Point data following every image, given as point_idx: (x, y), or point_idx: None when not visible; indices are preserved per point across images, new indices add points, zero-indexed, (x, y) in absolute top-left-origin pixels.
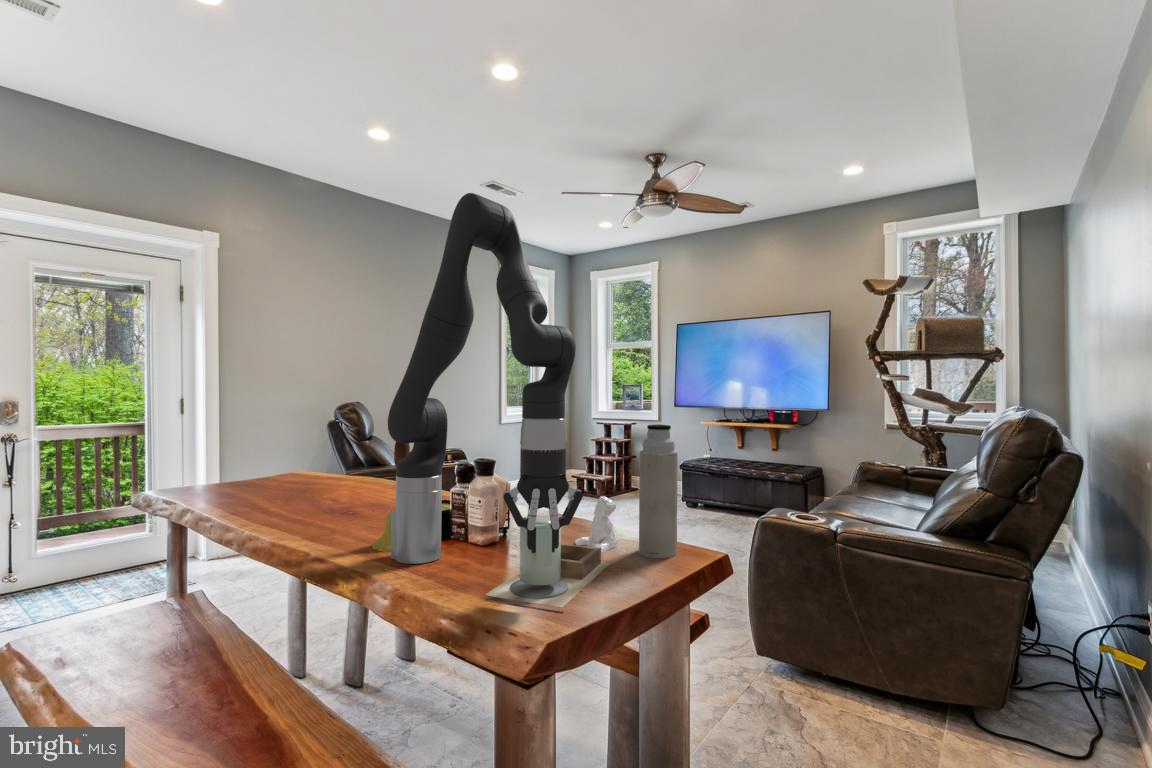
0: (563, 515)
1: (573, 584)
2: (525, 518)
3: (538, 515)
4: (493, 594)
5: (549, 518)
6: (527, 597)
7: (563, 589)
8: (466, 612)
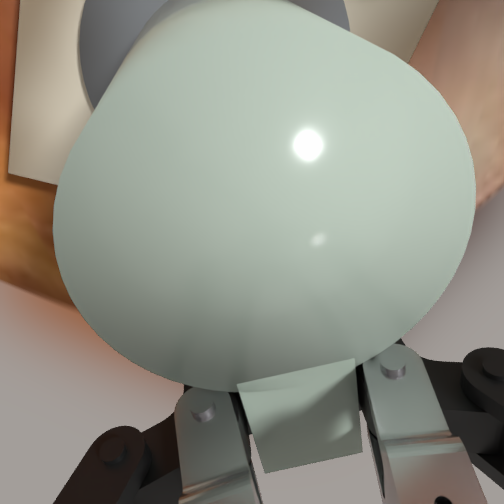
0: (496, 415)
1: (376, 4)
2: (171, 476)
3: (223, 38)
4: (43, 164)
5: (363, 189)
6: None
7: None
8: (4, 259)
